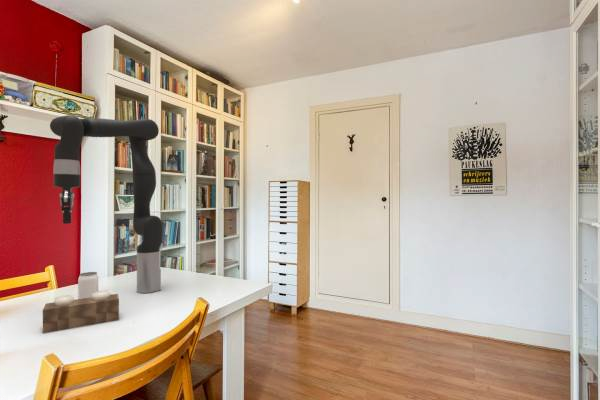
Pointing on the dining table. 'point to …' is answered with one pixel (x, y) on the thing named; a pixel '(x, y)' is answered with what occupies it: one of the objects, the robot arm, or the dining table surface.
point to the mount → (80, 313)
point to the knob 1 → (64, 300)
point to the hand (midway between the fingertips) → (67, 223)
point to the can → (87, 284)
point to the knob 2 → (100, 295)
